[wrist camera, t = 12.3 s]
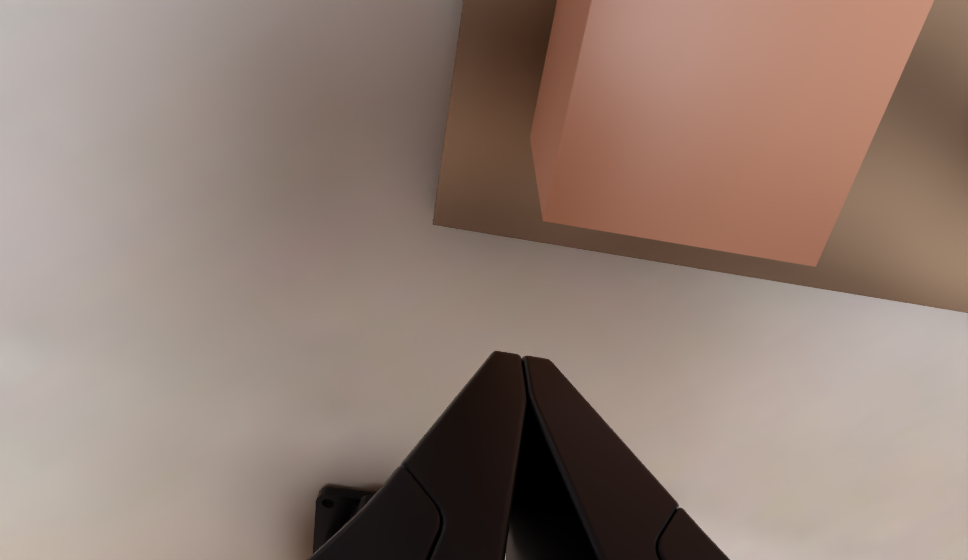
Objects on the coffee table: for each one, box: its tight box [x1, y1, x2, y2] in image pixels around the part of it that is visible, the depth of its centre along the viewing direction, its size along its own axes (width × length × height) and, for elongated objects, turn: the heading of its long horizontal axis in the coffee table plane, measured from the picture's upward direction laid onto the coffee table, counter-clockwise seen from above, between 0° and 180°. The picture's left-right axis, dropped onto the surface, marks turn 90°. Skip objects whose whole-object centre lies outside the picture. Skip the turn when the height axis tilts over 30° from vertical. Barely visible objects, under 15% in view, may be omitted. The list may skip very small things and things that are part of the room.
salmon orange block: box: [530, 0, 934, 267], centre depth 13 cm, size 5×5×7 cm
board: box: [433, 0, 968, 313], centre depth 18 cm, size 12×22×1 cm, turn 81°
